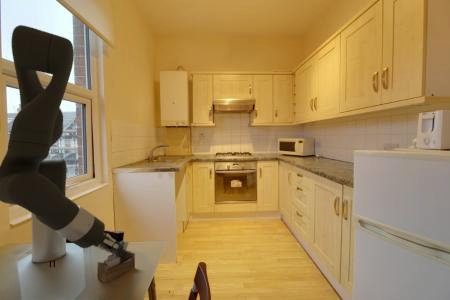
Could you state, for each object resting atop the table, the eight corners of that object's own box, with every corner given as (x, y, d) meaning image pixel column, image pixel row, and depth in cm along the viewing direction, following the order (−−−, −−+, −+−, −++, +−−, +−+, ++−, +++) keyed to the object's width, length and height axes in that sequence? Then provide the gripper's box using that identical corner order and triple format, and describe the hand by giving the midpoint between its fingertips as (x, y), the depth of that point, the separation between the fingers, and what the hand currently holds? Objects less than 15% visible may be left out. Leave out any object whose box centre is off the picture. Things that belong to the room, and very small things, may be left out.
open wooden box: (97, 278, 64) (97, 262, 64) (126, 263, 72) (126, 249, 72) (106, 282, 62) (106, 266, 62) (134, 267, 70) (134, 253, 70)
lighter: (107, 277, 63) (106, 249, 63) (103, 276, 64) (103, 247, 64) (129, 266, 69) (128, 240, 69) (125, 265, 70) (125, 239, 70)
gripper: (106, 217, 57) (145, 248, 67) (77, 209, 64) (117, 238, 74) (83, 246, 52) (129, 274, 63) (55, 234, 59) (101, 261, 70)
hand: (122, 254), depth 69 cm, fingers closed on lighter, 2 cm apart
